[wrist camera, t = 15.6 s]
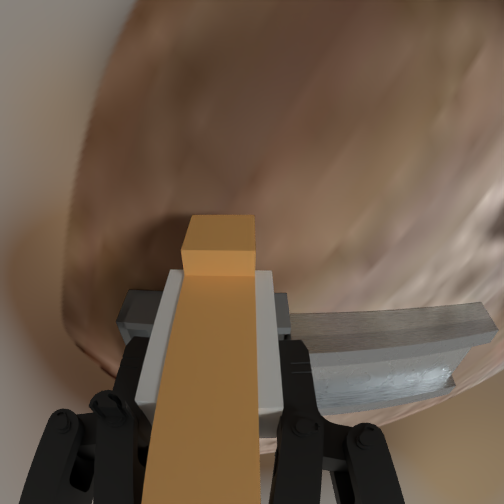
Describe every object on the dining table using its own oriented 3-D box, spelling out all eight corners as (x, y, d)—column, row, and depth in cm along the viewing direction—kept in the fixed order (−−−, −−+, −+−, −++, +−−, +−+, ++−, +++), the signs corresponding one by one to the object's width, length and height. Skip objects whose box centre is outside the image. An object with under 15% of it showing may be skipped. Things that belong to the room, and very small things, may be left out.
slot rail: (288, 314, 21) (293, 354, 18) (481, 302, 21) (498, 329, 19) (277, 385, 27) (279, 418, 24) (438, 368, 27) (448, 393, 24)
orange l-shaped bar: (192, 214, 15) (120, 519, 4) (254, 214, 15) (264, 535, 4) (201, 299, 18) (174, 531, 7) (252, 300, 18) (256, 537, 7)
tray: (128, 289, 20) (115, 321, 17) (286, 293, 20) (291, 327, 18) (165, 391, 28) (161, 417, 25) (272, 395, 28) (274, 421, 26)
